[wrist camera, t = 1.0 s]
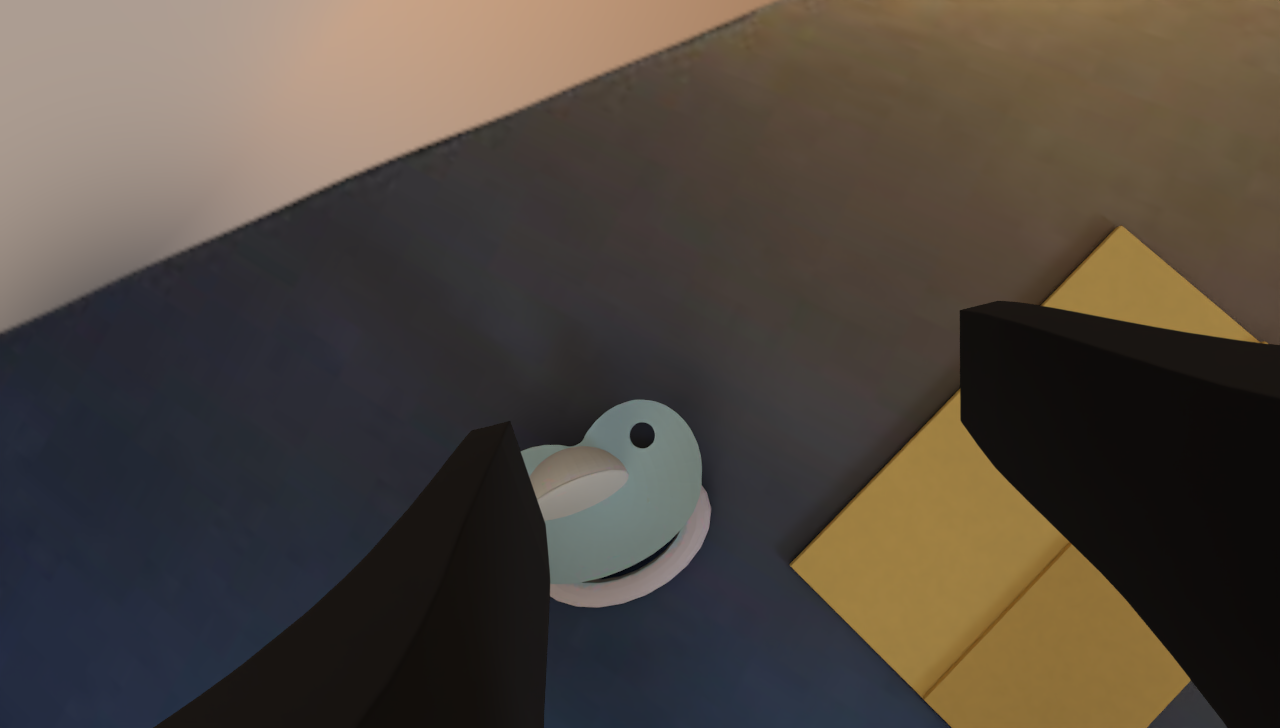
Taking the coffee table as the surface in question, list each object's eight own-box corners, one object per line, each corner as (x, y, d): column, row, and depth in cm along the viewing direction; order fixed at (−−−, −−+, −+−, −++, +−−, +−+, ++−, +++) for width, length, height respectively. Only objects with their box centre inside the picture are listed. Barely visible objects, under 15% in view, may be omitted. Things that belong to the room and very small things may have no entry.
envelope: (1046, 822, 22) (1055, 831, 21) (788, 564, 23) (791, 566, 23) (1388, 457, 22) (1403, 457, 22) (1115, 227, 24) (1125, 222, 23)
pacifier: (744, 543, 23) (667, 383, 24) (769, 586, 17) (664, 369, 18) (549, 636, 24) (477, 474, 24) (503, 713, 17) (407, 492, 18)
